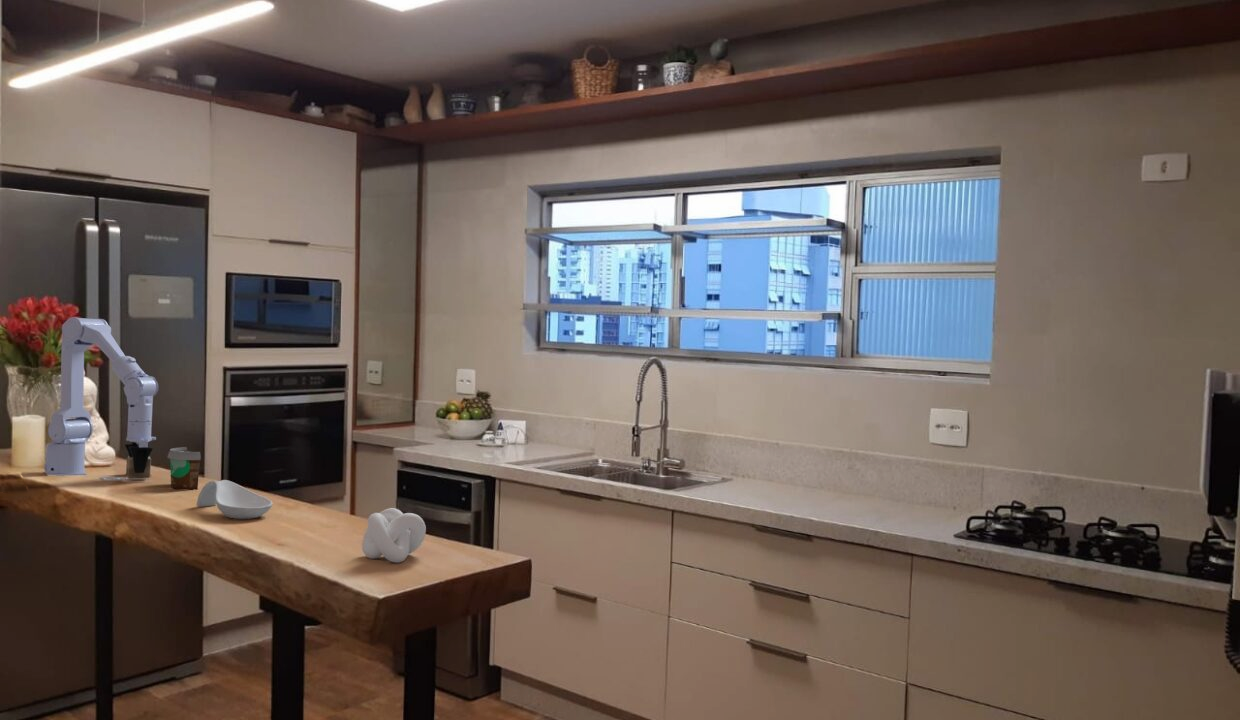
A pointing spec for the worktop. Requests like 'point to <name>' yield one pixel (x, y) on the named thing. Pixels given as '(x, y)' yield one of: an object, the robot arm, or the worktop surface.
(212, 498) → the spoon rest
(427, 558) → the worktop surface
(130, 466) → the walnut block
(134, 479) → the coaster
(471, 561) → the worktop surface
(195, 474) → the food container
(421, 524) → the grey knot sculpture
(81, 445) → the robot arm
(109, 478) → the tile
